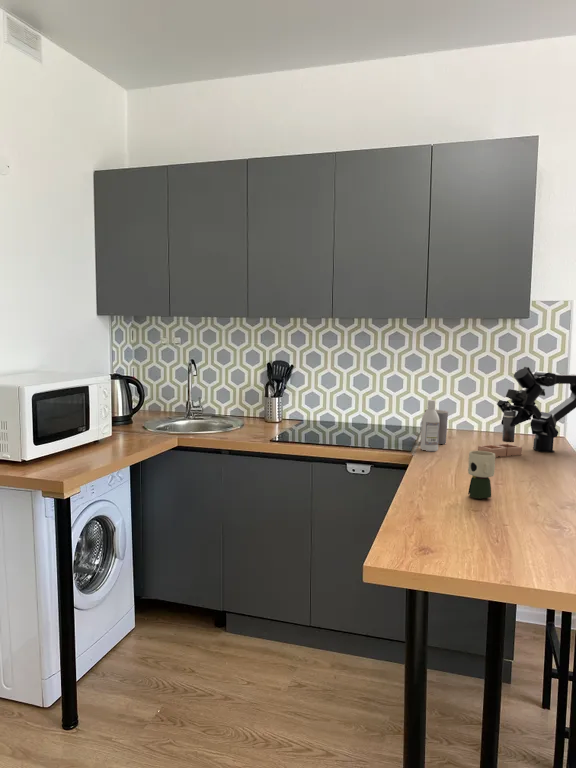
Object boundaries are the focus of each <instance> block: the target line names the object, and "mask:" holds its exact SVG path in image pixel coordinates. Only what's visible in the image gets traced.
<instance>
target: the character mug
mask: <svg viewBox="0 0 576 768" xmlns="http://www.w3.org/2000/svg"><path fill="white" fill-rule="evenodd" d="M495 465H496V457H495V454H494V453H492V452H487V451H478V450H469V452H468V467H467V472H468V473H467V474H468V475H470V476H472V477H471V479H470V482H469V487H468V495H467V496H469V497H470V498H474V499H480V500H483V499H489V498H492V484H491V483H492V482H491V479H490V478H493V477H494V476H495V470H496V469H495V467H496V466H495Z"/></svg>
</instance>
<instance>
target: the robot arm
mask: <svg viewBox="0 0 576 768" xmlns="http://www.w3.org/2000/svg"><path fill="white" fill-rule="evenodd" d="M513 378H514V379H515V381H516V382H517V383H518V385H519V386H520V388H522V389H520V390H517V389H510V388H509V389H507V392H506V395H505V398H508V399H510V402H511V403H510V402H509V400H505V399H499V400H498V401H497V403H496V405H497V406H498V408H499V409H500V410H501V412H502V413H503V416H502V419H501V423H500V424H501V425H502V426H503V419H504V410H511V411H516V417H515V418H514V419H513V421H512V422H511V424H510V426H511V427H513V426H515V427H516V426H517V425H520V424H522V423H524V422H526V421H530V430H531V434H533V435H534V436H535V437H534V438H533V445H532V446H533V447H532V449H534V451H537V452H543V453H544V452H545V453H546V452H547V453H555V450H554V441H555V440H554V439H555V438H557V437H558V435H559V431H558V429H557V428H556V426H557V423H558V422H559V421H560V420H562V419H563V418H564V417H565V416H567V415H568V414H569V413H571V412H572V411H574V410H576V374H575V373H572V374H571V373H570V374H558V373H557V374H556V373H554V372H550V371H541V370H539V371H538V370H537V371H535V372H534V373H533V372H532V371H531V369H530V367H529V366H524V367H523V368H520V369H519V370H516V371H515V372H514V374H513ZM558 384H559V385H560V384H561V385H563V384H564V385H565V384H567V385H569V390H570V391H571V392H570V396H569V397H568V398H566V399H565V400H563V402H562V401H561V403H560V404H558V405H556V407H553V409H551V410H549V412H544V411H541V410H540V409H539V408H538V406H537V405H536V400H537V399H538V398H539V397H540V396H543V397H546V392H545V389H544V388H542V387H548V388H549V387H552V386H555V385H558ZM531 417H532V418H531Z"/></svg>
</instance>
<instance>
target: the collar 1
mask: <svg viewBox="0 0 576 768" xmlns="http://www.w3.org/2000/svg"><path fill="white" fill-rule="evenodd" d="M506 449H507V448H503V447H499V446H496V444H484V445H478V446H477V451H487V452H492V453H494V454H495V458H498V456H500V457H507V456H506Z"/></svg>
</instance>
